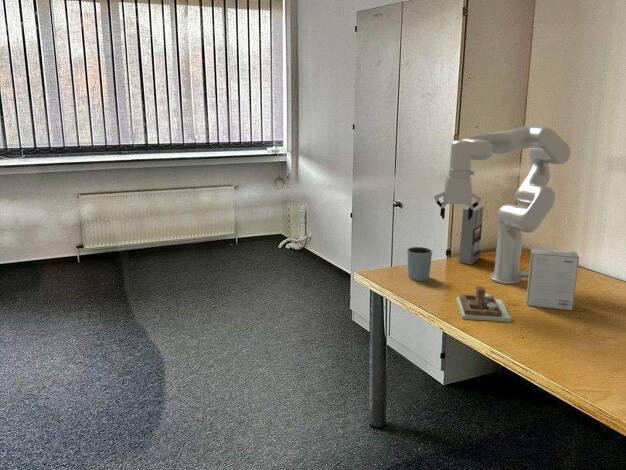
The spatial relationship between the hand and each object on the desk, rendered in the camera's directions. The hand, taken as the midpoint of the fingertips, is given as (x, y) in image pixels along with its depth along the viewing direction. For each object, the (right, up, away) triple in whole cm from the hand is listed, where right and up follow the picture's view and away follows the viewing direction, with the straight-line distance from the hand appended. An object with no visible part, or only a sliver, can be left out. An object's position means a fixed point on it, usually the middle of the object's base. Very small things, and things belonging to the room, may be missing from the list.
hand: (455, 218), depth 209 cm
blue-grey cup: (-11, -24, +20) cm, 33 cm away
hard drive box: (+32, -32, -8) cm, 46 cm away
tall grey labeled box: (+18, -18, +46) cm, 52 cm away
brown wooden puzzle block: (+5, -32, -15) cm, 35 cm away
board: (+6, -33, -14) cm, 36 cm away
